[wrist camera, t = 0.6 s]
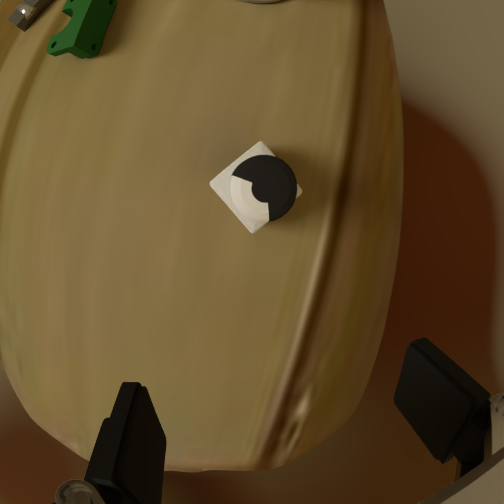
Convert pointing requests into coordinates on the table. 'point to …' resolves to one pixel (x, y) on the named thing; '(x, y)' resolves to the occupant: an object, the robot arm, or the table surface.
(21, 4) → the grey metal bar
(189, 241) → the table surface
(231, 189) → the medicine bottle
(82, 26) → the clamp
